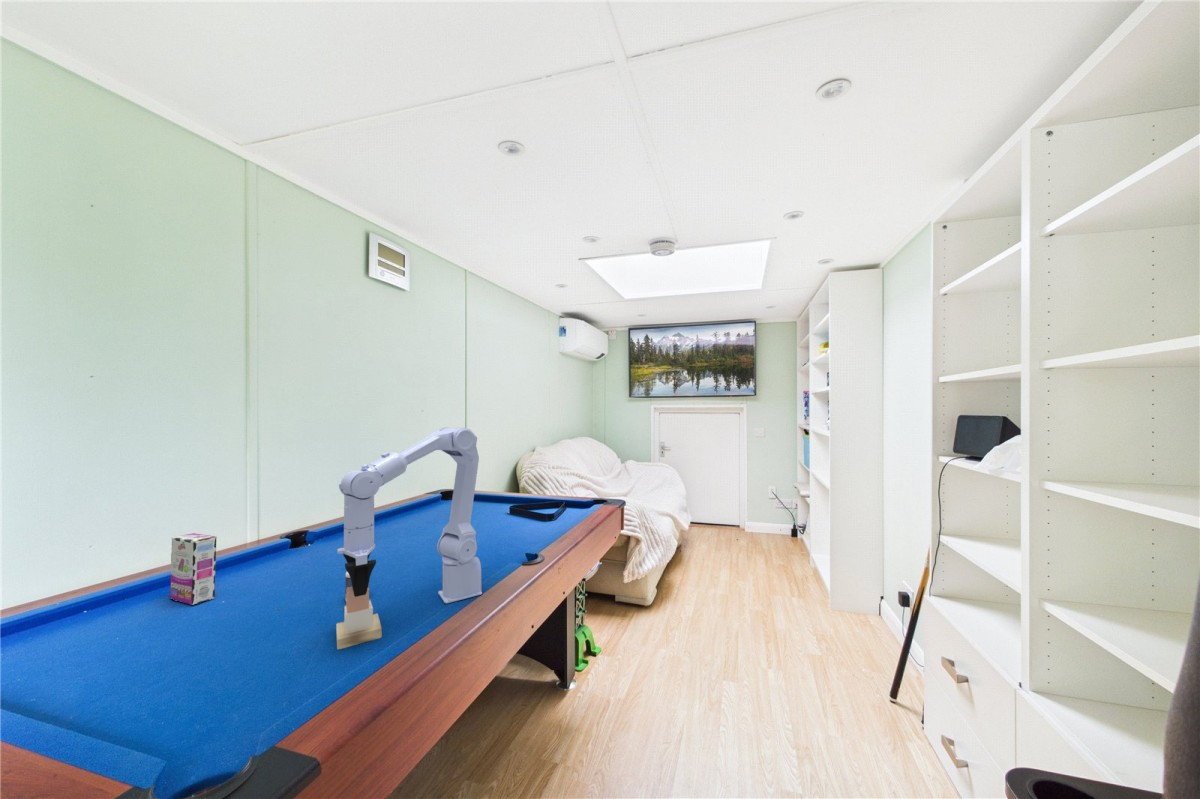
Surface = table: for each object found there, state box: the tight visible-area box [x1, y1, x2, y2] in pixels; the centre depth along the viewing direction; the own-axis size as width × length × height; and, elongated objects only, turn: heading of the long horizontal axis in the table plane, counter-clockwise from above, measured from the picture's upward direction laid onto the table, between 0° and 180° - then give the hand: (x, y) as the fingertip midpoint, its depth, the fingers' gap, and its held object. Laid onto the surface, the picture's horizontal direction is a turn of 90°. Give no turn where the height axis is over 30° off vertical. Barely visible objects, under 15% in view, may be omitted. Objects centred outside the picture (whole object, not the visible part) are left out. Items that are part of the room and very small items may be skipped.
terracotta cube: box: [345, 586, 370, 613], centre depth 89 cm, size 4×4×4 cm
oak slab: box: [335, 613, 383, 651], centre depth 89 cm, size 8×8×2 cm
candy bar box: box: [169, 532, 217, 606], centre depth 109 cm, size 11×5×16 cm, turn 68°
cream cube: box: [343, 599, 374, 634], centre depth 89 cm, size 5×5×4 cm
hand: (359, 588), depth 90 cm, fingers open, 7 cm apart
